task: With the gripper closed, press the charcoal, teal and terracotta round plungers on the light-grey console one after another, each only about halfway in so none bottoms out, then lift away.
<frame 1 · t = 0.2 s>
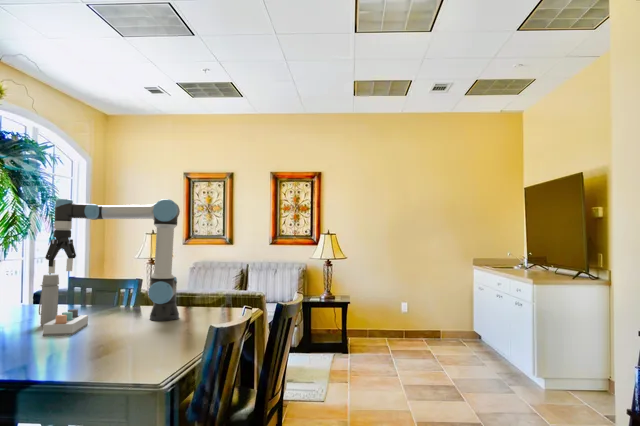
hand: (60, 272, 214), 27 cm above the table, fingers open, 13 cm apart
water bottle: (46, 325, 216), on the table
button teal: (67, 318, 204), point 6 cm above the table, slide at 0.0 cm
button terracotta: (61, 321, 197), point 6 cm above the table, slide at 0.0 cm
button charcoal: (72, 315, 212), point 6 cm above the table, slide at 0.0 cm
console: (66, 330, 204), on the table
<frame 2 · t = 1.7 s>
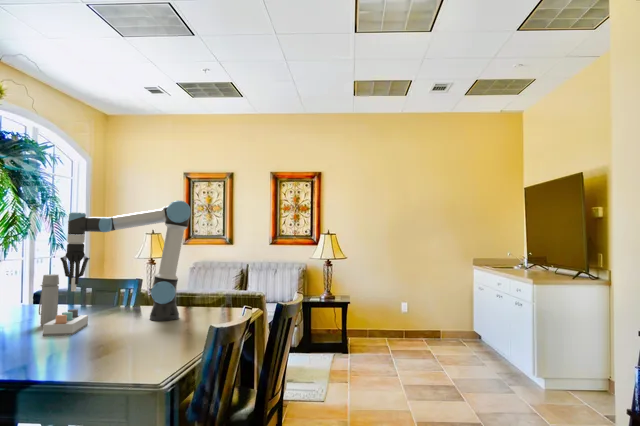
hand: (73, 291, 212), 18 cm above the table, fingers closed
nothing on the table moved.
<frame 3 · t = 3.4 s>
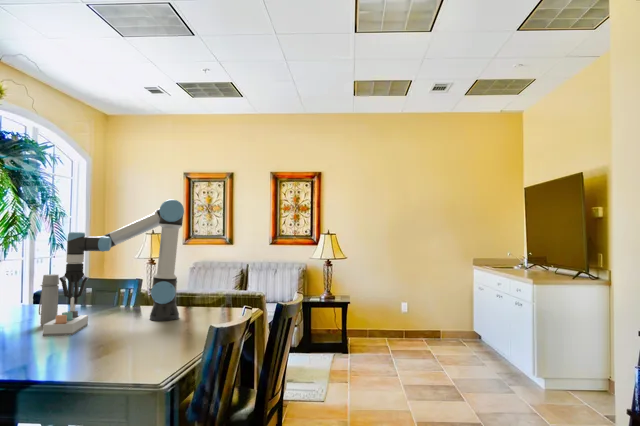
hand: (72, 310, 212), 8 cm above the table, fingers closed
button charcoal: (72, 316, 212), point 5 cm above the table, slide at 0.7 cm, touching gripper
everything else where it was.
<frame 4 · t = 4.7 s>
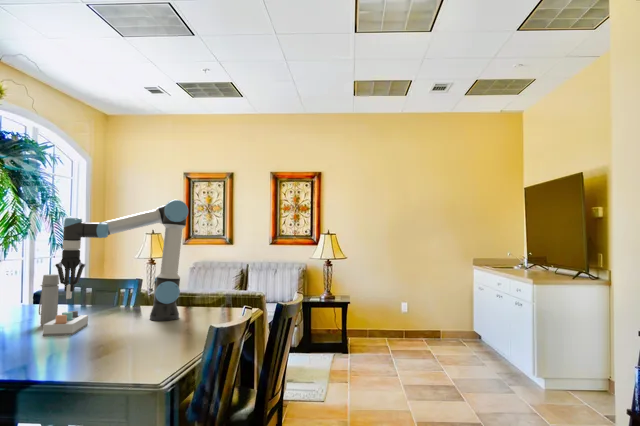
hand: (68, 298, 207), 15 cm above the table, fingers closed
button charcoal: (72, 316, 212), point 5 cm above the table, slide at 0.8 cm
everything else where it was.
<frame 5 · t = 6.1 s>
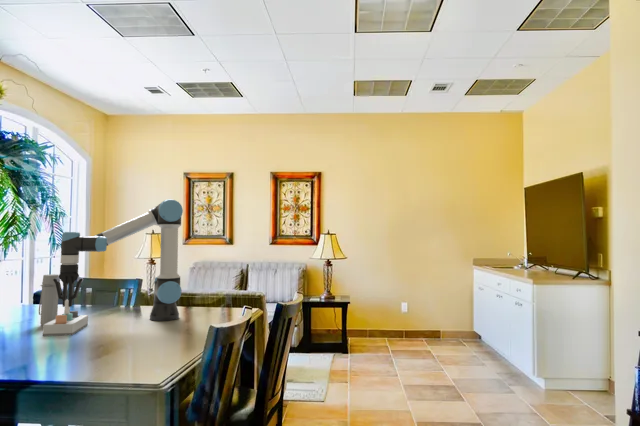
hand: (67, 313, 204), 8 cm above the table, fingers closed
button teal: (67, 319, 204), point 5 cm above the table, slide at 0.6 cm, touching gripper
everything else where it was.
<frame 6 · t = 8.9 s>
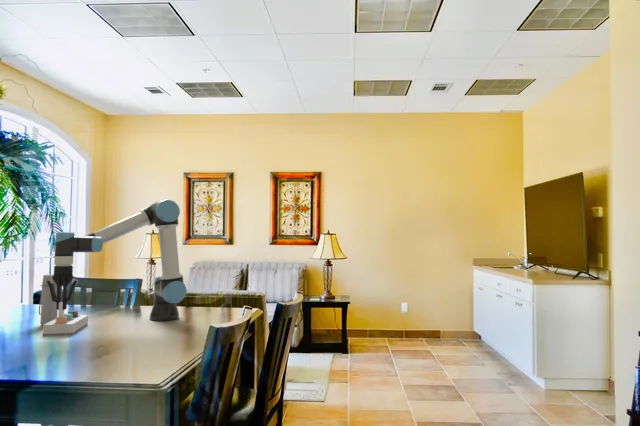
hand: (61, 316, 197), 8 cm above the table, fingers closed
button teal: (67, 319, 204), point 5 cm above the table, slide at 0.8 cm
button terracotta: (61, 322, 197), point 5 cm above the table, slide at 0.7 cm, touching gripper
everything else where it was.
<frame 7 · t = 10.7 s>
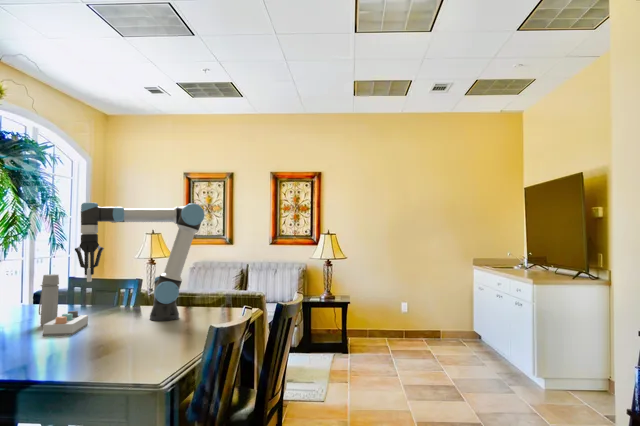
hand: (89, 281, 211), 23 cm above the table, fingers closed
button terracotta: (61, 322, 197), point 5 cm above the table, slide at 0.8 cm
everything else where it was.
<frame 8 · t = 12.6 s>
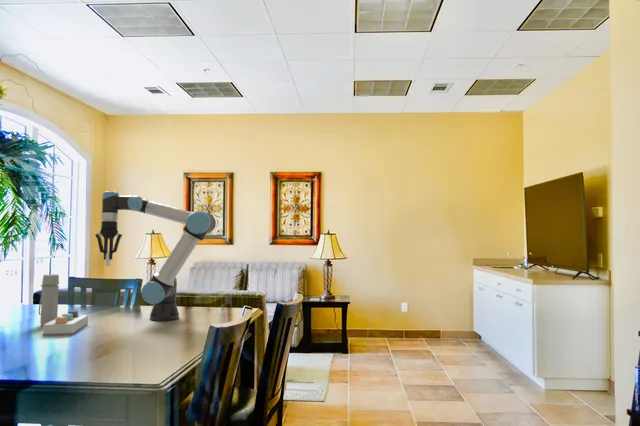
hand: (107, 265, 224), 29 cm above the table, fingers closed
nothing on the table moved.
at the end: button charcoal slide at 0.8 cm; button teal slide at 0.8 cm; button terracotta slide at 0.8 cm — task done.
